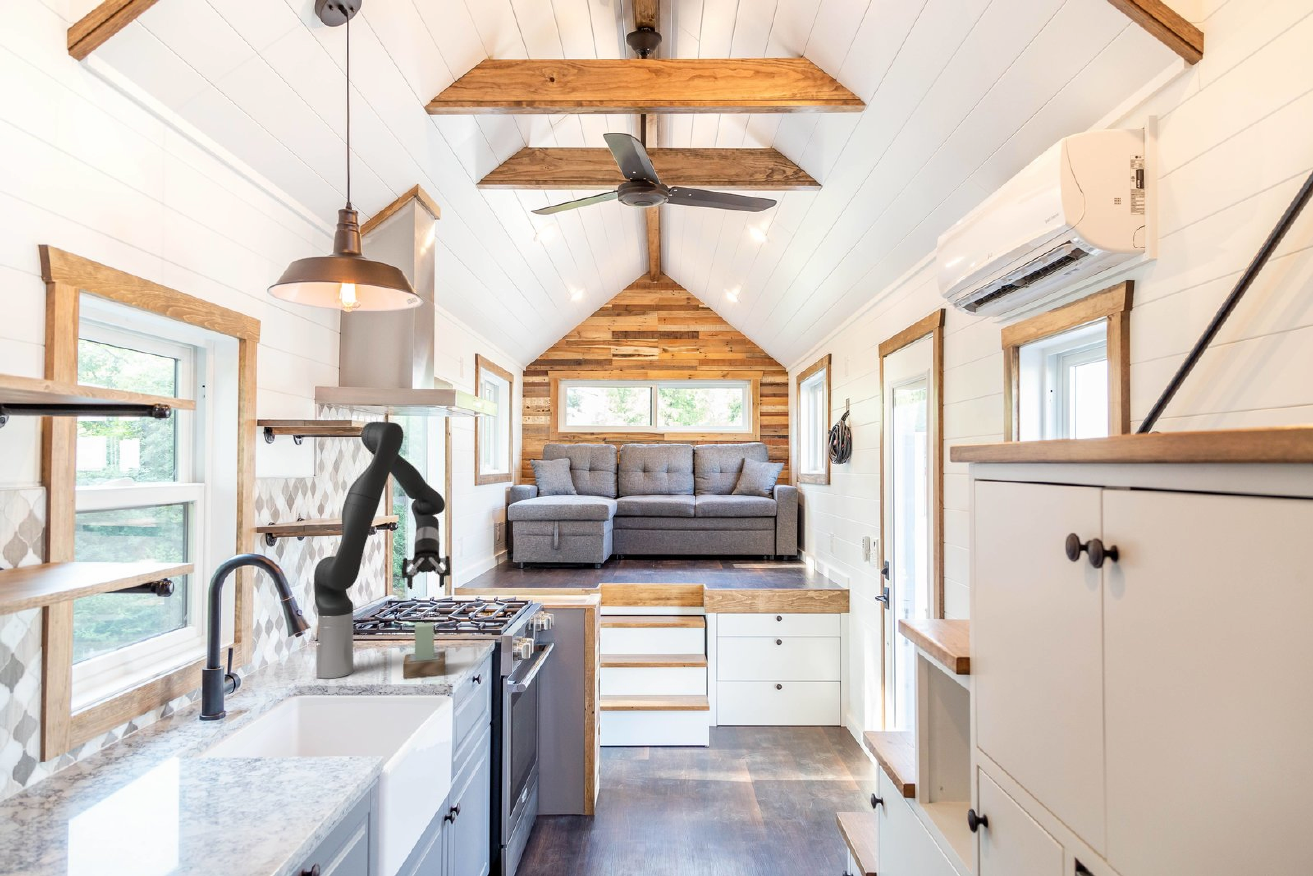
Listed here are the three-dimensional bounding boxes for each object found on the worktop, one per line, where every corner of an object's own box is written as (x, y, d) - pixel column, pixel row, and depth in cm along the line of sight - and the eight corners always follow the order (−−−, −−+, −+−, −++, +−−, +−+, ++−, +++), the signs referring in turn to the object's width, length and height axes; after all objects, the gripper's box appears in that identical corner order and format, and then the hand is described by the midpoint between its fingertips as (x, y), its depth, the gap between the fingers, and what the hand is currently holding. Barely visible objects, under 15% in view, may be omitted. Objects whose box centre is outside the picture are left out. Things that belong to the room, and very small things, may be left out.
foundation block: (403, 679, 198) (403, 663, 198) (405, 668, 208) (405, 653, 208) (444, 675, 200) (444, 659, 201) (445, 664, 211) (445, 650, 211)
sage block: (415, 659, 201) (414, 627, 202) (415, 655, 206) (415, 623, 206) (433, 657, 203) (433, 625, 203) (433, 653, 208) (433, 622, 208)
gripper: (402, 538, 222) (400, 580, 211) (450, 536, 226) (450, 577, 215) (403, 553, 227) (401, 595, 216) (450, 551, 231) (450, 592, 220)
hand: (425, 586), depth 215 cm, fingers open, 8 cm apart
